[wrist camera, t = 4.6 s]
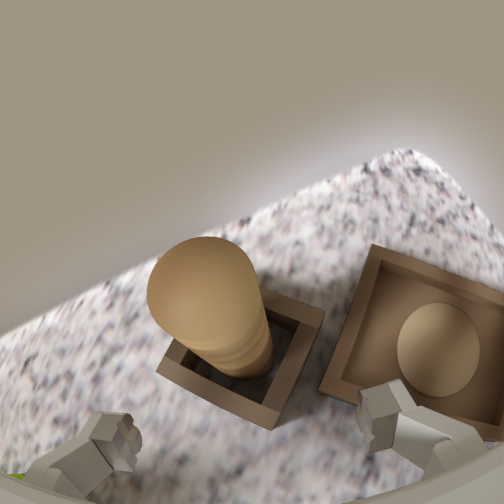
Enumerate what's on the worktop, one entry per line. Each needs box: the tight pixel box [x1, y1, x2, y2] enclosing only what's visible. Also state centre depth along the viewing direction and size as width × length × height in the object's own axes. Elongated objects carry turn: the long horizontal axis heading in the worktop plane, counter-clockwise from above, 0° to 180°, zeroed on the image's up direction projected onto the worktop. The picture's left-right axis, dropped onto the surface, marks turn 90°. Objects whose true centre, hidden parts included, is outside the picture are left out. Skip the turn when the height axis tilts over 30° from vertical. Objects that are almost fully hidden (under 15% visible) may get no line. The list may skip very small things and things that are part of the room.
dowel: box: [147, 236, 275, 382], centre depth 16 cm, size 4×4×12 cm
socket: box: [156, 286, 325, 431], centre depth 20 cm, size 8×8×3 cm
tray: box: [317, 244, 504, 442], centre depth 18 cm, size 15×11×2 cm
